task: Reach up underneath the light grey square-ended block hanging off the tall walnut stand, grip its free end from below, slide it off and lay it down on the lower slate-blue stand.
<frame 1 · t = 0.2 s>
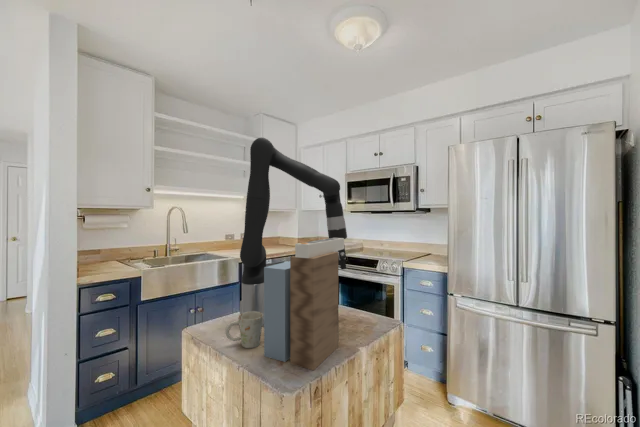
hand: (342, 267, 120), 23 cm above the countertop, tool pointing down, fingers open, 8 cm apart
walnut stand: (315, 354, 93), on the countertop
blue stand: (289, 348, 98), on the countertop
light grey square-ended block: (322, 252, 97), point 32 cm above the countertop, touching walnut stand
mug: (244, 345, 100), on the countertop
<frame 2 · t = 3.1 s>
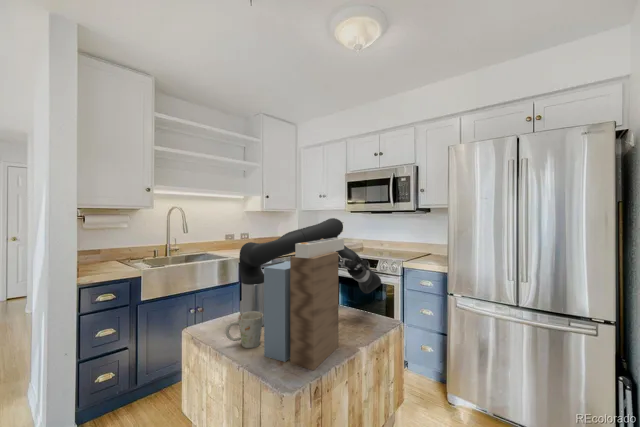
hand: (345, 256, 114), 28 cm above the countertop, tool pointing upward, fingers open, 8 cm apart
nothing on the countertop moved.
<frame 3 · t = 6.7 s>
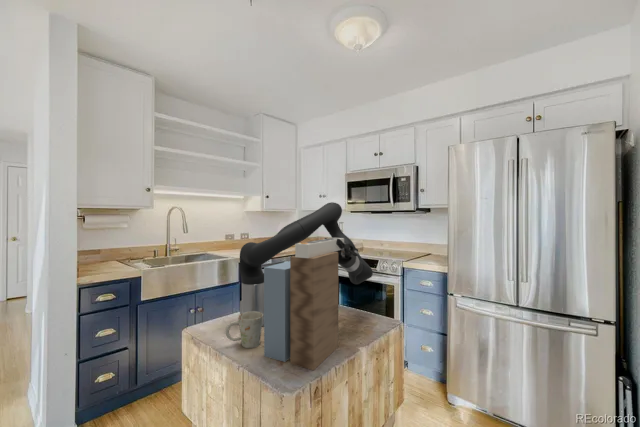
hand: (331, 240, 103), 35 cm above the countertop, tool pointing upward, fingers closed on light grey square-ended block, 4 cm apart
light grey square-ended block: (322, 252, 97), point 32 cm above the countertop, touching gripper, walnut stand
everything else where it was.
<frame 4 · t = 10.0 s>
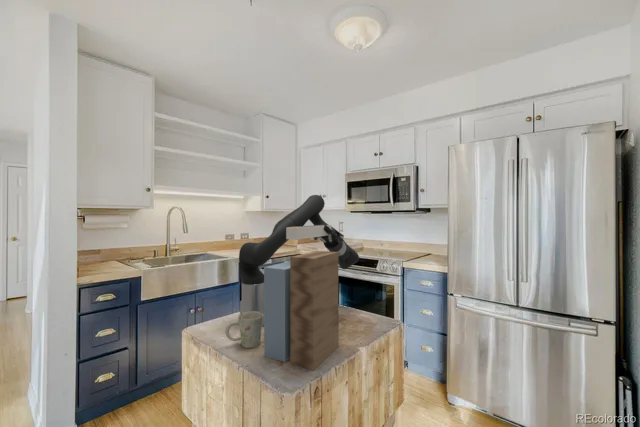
hand: (319, 227, 117), 40 cm above the countertop, tool pointing upward, fingers closed on light grey square-ended block, 4 cm apart
light grey square-ended block: (310, 236, 111), point 36 cm above the countertop, touching gripper
everything else where it was.
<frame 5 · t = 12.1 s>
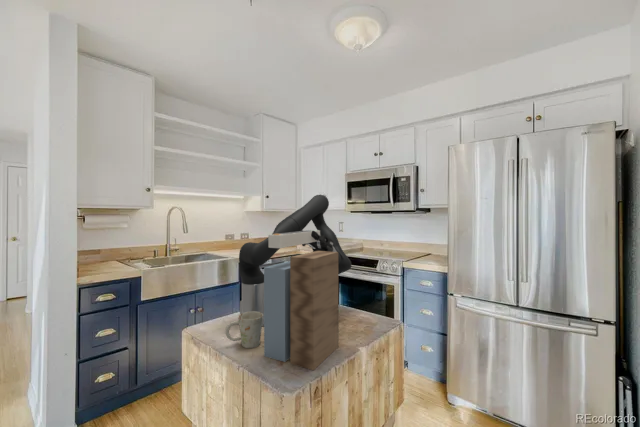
hand: (306, 232, 108), 38 cm above the countertop, tool pointing upward, fingers closed on light grey square-ended block, 4 cm apart
light grey square-ended block: (296, 243, 102), point 34 cm above the countertop, touching gripper
everything else where it was.
when the fingers open (32 cm above the countertop, at t = 13.6 s): light grey square-ended block stays where it is, resting on blue stand.
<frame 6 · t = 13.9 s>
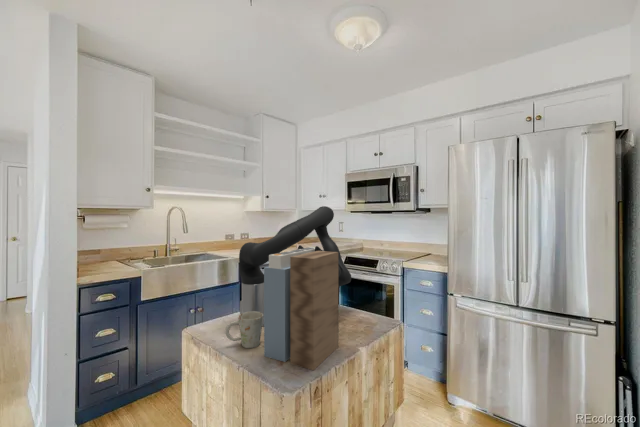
hand: (307, 248, 108), 32 cm above the countertop, tool pointing upward, fingers open, 6 cm apart
light grey square-ended block: (297, 262, 102), point 28 cm above the countertop, touching blue stand
everything else where it was.
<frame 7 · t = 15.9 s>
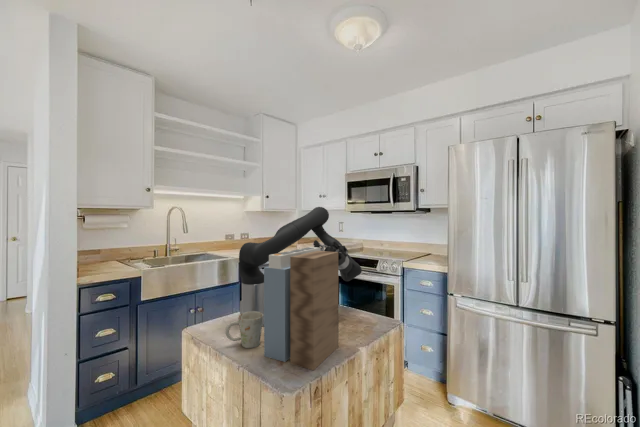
hand: (323, 242, 119), 33 cm above the countertop, tool pointing upward, fingers open, 8 cm apart
nothing on the countertop moved.
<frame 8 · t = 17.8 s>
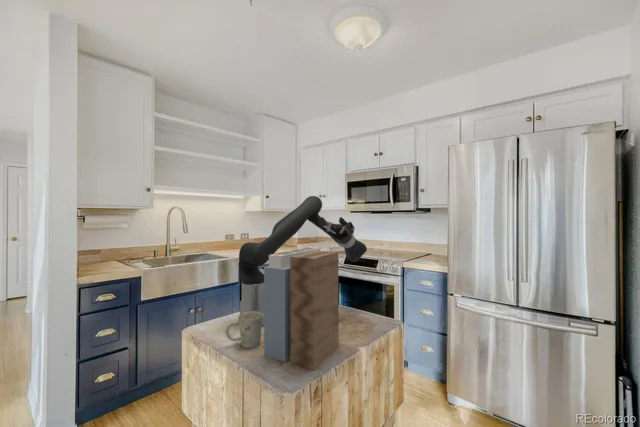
hand: (330, 219, 119), 43 cm above the countertop, tool pointing upward, fingers open, 8 cm apart
nothing on the countertop moved.
at the end: light grey square-ended block inside the target area on the blue stand (1.1 cm from its centre), point 28.0 cm above the blue stand's base; the gripper is holding nothing; light grey square-ended block touching blue stand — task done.
